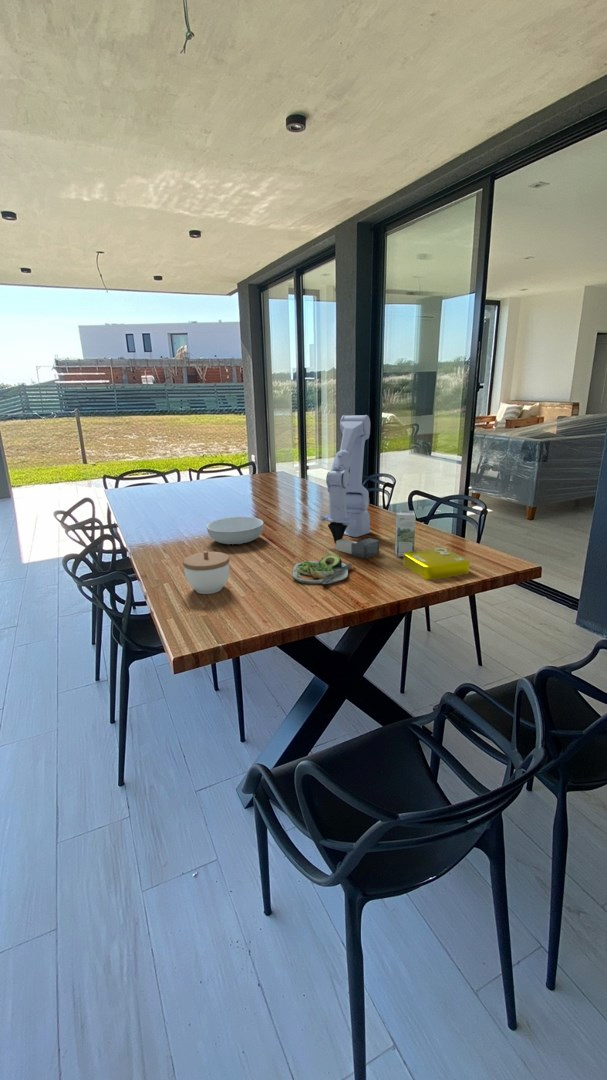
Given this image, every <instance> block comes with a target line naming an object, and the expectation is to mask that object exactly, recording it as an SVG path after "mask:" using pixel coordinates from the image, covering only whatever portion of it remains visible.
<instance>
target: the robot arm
mask: <svg viewBox="0 0 607 1080" xmlns="http://www.w3.org/2000/svg"><path fill="white" fill-rule="evenodd" d="M339 429H340V431H341V434H342V437H341V442H340V447H339V448H340V449H339V451H337V452H336V453H335V455H334V459H333V461H332V466H331V469H330V470H329V471H328V472H327V473H326V478H325V479H326V480H325V482H326V486H327V493H328V498H329V499H328V500H329V501H328V502H329V503H328V505H329V514H325V513H324V514H321V515H320V521H321V522H324V521H325V522H329V524H327V526H328V527H327V528H328V529H329V530H330V533H331V535H332V537H333V542H334V544H335V545H336V541H337V540H340V539H344V535H345V536H349V537H353V538H358V537H361V536H364V535H367V534H371V533H372V530H370V529H371V526H370V521H371V515H370V513H369V511H368V509H369V505H370V497H369V496H370V495H369V493H370V492H369V491H368V489H367V488H366V487H365V486H364V485H363V482H362V481H363V470H364V469H363V468H364V455H365V443H366V440H369V438H370V435H371V419H370V416H369V415H367V414H365V415H363V414H362V415H360V414H359V415H357V414H356V415H355V414H354V415H352V414H351V415H345V414H343V415H342V416H341V418H340V420H339Z"/></svg>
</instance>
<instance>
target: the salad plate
mask: <svg viewBox="0 0 607 1080" xmlns="http://www.w3.org/2000/svg"><path fill="white" fill-rule="evenodd" d="M352 566H353V563H344V562H342V559H341V557H340V556H339V555H337V554H327V555H324V556H323V557H322V558H321V559H320V560H319V561H308V560H306V561H301V562H298V563H296V564H295V565H294V566H293V568H292V578H293V579H294V580H296V581H298V582H299V583H302V584H306V585H328V584H329V585H330V584H334V583H338V582H341V581H343V580H346V579H347V577H348V576H349V571H348V570H349V569H350V568H352ZM301 575H302V576H304V575H305V576H309V577H312V579H306V578H305V579H304V578H303V577H302V576H301Z"/></svg>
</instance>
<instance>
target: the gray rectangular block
mask: <svg viewBox="0 0 607 1080" xmlns="http://www.w3.org/2000/svg"><path fill="white" fill-rule="evenodd" d="M351 543H355V544H356V543H357V541H353V540H349V539H345V538H342V539H340V540H337V541H336V544H335V550H336V551H339V552H343V553H345V554H349V555H351Z"/></svg>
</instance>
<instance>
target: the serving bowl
mask: <svg viewBox="0 0 607 1080" xmlns="http://www.w3.org/2000/svg"><path fill="white" fill-rule="evenodd" d="M263 529H264V521H263V519H260V518H257V517H253V516H252V517H251V516H232V517H224V518H219V519H216V520H213V521H210V522H209V523H207V525H206V531H207V532H208V535H209V537H210V538H211V539H212V540H213V541H215V542H217V543H220V544H224V545H230V544H232V546H233V544H238V545H242V544H243V543H244V544H246V543H250V542H252V541H254V540H256V539H258V538H259V536H260V535H261V534H262V532H263ZM244 544H243V545H244Z"/></svg>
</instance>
